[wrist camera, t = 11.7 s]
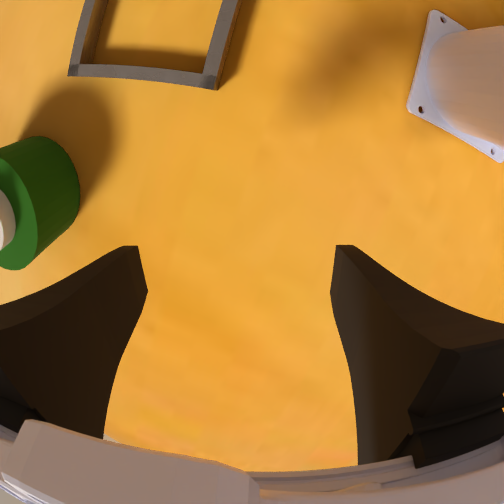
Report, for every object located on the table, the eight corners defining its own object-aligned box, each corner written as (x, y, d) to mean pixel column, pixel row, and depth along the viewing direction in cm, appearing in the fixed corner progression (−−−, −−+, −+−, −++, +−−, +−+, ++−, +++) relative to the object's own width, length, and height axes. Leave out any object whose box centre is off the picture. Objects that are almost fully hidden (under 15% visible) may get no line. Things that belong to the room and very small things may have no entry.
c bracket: (257, -46, 12) (256, -56, 10) (217, 90, 16) (213, 89, 15) (116, -49, 11) (106, -56, 9) (80, 76, 15) (67, 76, 14)
